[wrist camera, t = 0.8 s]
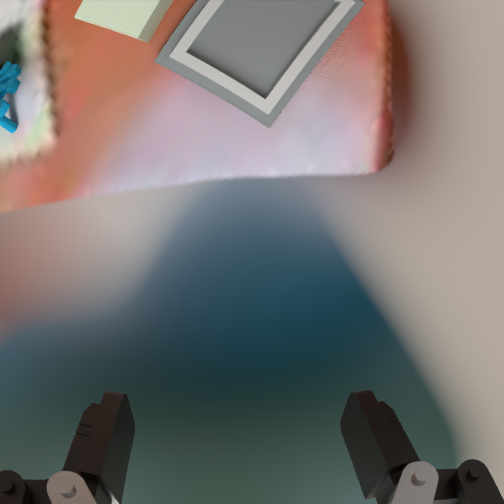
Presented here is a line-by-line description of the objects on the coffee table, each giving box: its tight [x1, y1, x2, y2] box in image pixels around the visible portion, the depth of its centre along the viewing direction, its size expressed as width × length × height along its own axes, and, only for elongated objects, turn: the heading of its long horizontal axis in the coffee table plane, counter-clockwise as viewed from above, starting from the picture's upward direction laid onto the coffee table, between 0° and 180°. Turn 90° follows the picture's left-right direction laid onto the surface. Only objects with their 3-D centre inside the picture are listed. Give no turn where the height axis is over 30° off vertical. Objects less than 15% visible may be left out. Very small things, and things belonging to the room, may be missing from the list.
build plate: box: [154, 0, 365, 128], centre depth 22 cm, size 12×16×2 cm
